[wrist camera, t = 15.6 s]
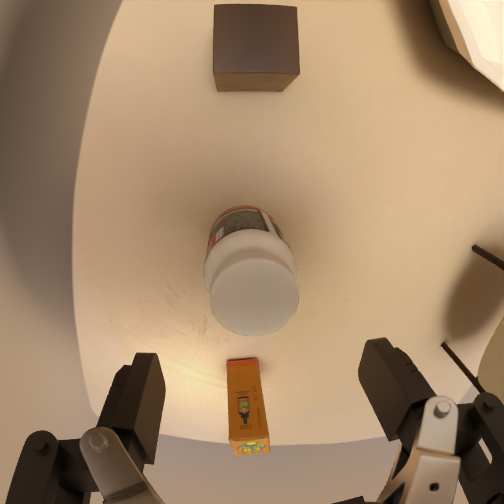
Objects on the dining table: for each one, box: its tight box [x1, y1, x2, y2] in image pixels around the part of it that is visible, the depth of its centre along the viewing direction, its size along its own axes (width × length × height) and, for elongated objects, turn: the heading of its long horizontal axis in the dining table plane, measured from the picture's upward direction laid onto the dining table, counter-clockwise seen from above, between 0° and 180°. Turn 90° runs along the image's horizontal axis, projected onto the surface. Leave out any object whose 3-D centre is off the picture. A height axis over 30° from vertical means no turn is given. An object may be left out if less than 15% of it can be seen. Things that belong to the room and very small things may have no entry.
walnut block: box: [213, 4, 300, 92], centre depth 16 cm, size 5×5×6 cm
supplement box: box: [227, 358, 270, 455], centre depth 24 cm, size 3×3×10 cm
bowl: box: [429, 0, 504, 92], centre depth 12 cm, size 22×23×8 cm
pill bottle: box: [204, 206, 299, 336], centre depth 19 cm, size 6×6×10 cm
